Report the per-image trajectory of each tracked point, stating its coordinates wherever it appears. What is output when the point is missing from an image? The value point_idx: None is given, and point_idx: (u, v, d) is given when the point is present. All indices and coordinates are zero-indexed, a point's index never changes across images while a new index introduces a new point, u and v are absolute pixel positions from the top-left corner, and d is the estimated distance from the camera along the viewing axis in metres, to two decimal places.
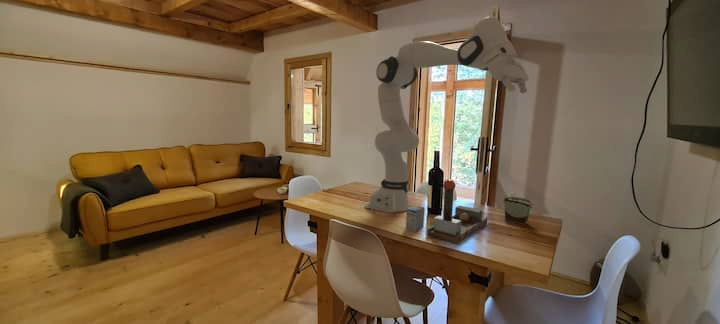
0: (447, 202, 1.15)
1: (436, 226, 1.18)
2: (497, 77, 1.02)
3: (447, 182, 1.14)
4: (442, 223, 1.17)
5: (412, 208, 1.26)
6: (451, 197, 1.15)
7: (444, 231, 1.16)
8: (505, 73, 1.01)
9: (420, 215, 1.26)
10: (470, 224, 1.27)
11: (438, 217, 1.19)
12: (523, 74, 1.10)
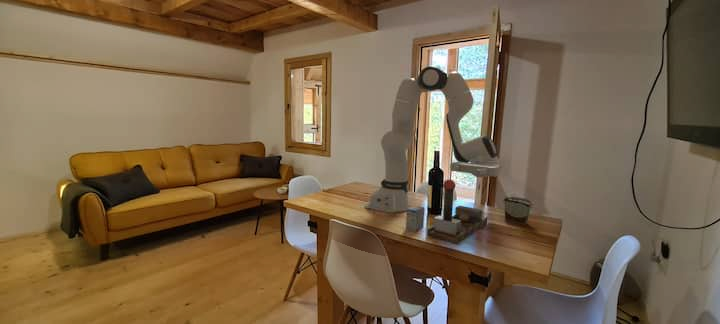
0: (447, 202, 1.15)
1: (436, 226, 1.18)
2: (495, 170, 1.24)
3: (447, 182, 1.14)
4: (442, 223, 1.17)
5: (412, 208, 1.26)
6: (451, 197, 1.15)
7: (444, 231, 1.16)
8: (492, 175, 1.26)
9: (420, 215, 1.26)
10: (470, 224, 1.27)
11: (438, 217, 1.19)
12: (459, 171, 1.36)
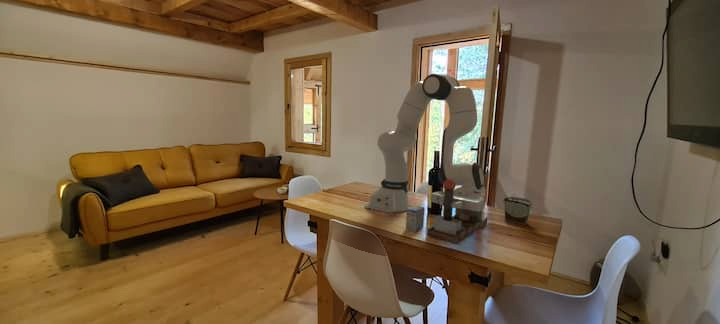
0: (447, 202, 1.15)
1: (436, 226, 1.18)
2: (478, 205, 1.13)
3: (447, 182, 1.14)
4: (442, 223, 1.17)
5: (412, 208, 1.26)
6: (451, 197, 1.15)
7: (444, 231, 1.16)
8: (474, 210, 1.14)
9: (420, 215, 1.26)
10: (470, 224, 1.27)
11: (438, 217, 1.19)
12: None
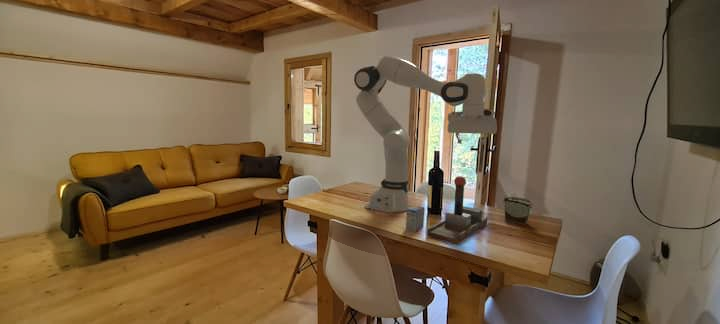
0: (457, 197, 1.22)
1: (447, 220, 1.25)
2: None
3: (458, 179, 1.21)
4: (453, 217, 1.24)
5: (412, 208, 1.26)
6: (462, 193, 1.22)
7: (455, 225, 1.23)
8: None
9: (420, 215, 1.26)
10: None
11: (449, 212, 1.26)
12: None
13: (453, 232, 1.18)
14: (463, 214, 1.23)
